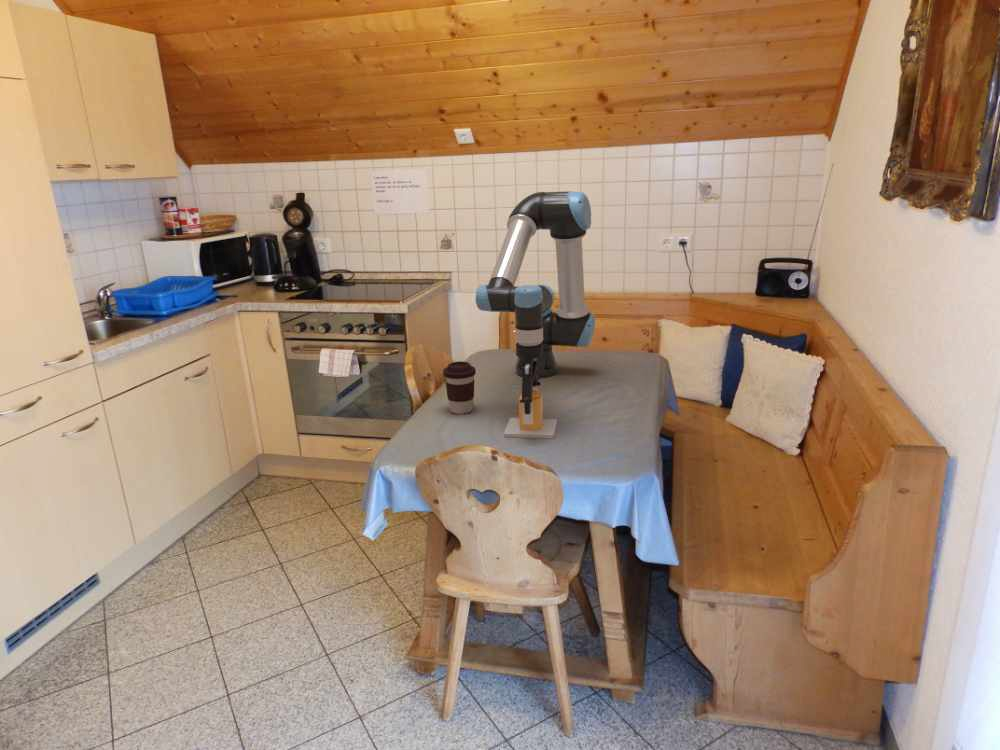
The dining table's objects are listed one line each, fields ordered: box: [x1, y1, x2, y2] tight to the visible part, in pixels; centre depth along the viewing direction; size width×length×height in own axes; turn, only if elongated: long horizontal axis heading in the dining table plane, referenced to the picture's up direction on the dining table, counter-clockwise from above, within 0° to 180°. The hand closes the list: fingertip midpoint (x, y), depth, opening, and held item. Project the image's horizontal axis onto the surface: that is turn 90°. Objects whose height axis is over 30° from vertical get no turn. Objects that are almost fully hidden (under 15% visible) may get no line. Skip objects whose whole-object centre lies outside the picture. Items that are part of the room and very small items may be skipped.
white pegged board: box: [503, 417, 558, 440], centre depth 193 cm, size 12×14×7 cm
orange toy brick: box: [518, 390, 544, 431], centre depth 192 cm, size 6×6×10 cm
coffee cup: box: [442, 361, 477, 415], centre depth 208 cm, size 10×10×15 cm
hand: (530, 415), depth 193 cm, fingers open, 12 cm apart
